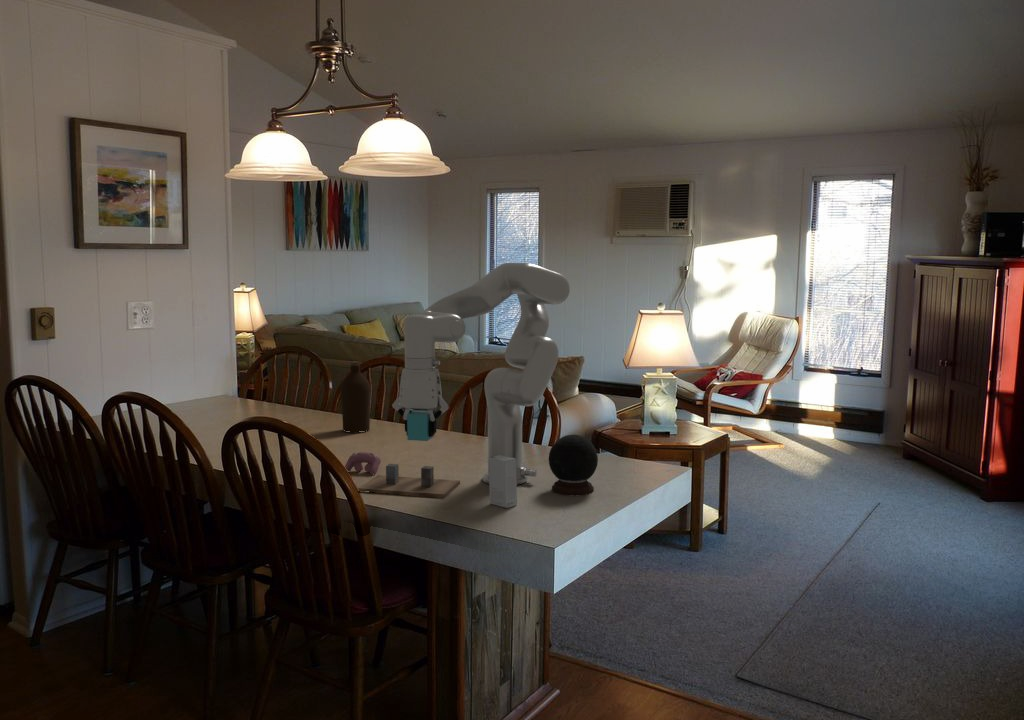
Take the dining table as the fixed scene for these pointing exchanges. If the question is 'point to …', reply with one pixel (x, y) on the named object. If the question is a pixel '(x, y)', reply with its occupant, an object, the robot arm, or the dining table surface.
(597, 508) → the dining table surface
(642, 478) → the dining table surface
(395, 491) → the flat wooden board
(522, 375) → the robot arm
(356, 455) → the video game controller
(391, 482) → the grey block
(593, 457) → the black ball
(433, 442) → the dining table surface
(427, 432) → the turquoise toy cube
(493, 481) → the skincare box
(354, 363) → the olive oil
